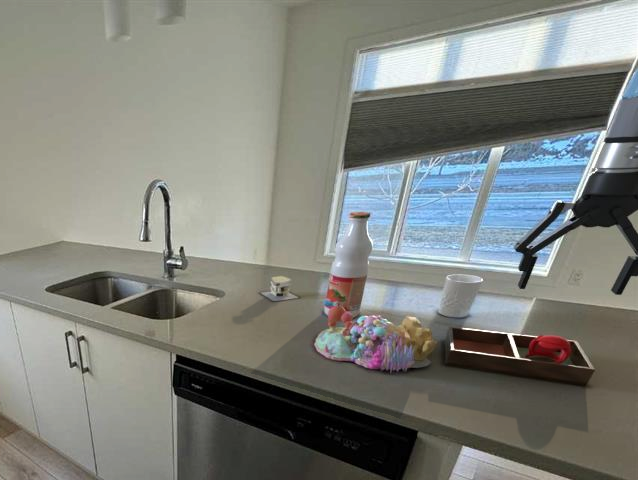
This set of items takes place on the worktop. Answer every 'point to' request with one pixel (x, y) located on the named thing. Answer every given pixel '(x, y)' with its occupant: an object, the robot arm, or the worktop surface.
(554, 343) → the red curved piece
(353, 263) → the fruit juice
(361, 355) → the candy landscape model
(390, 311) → the worktop surface
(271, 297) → the stacked layers on plate
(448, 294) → the white cup
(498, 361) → the sorting tray
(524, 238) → the robot arm
